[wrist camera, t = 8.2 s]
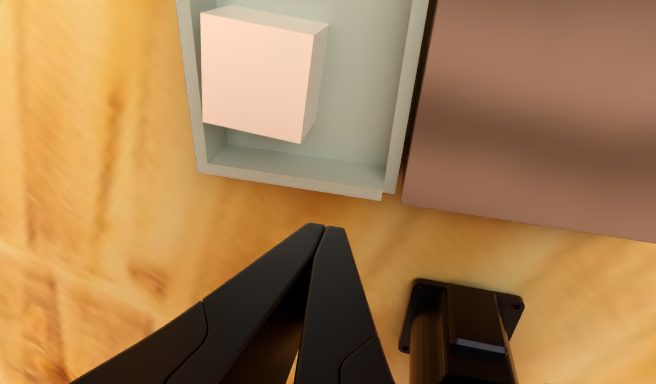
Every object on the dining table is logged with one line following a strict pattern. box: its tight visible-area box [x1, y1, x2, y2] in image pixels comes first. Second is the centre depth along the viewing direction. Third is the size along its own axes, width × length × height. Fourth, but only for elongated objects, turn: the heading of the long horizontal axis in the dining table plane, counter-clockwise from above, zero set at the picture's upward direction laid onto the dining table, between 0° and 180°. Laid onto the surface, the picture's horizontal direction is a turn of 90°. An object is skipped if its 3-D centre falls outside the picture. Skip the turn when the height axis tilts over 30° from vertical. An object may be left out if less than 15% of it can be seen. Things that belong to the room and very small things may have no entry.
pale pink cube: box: [200, 5, 329, 144], centre depth 17 cm, size 4×4×3 cm
